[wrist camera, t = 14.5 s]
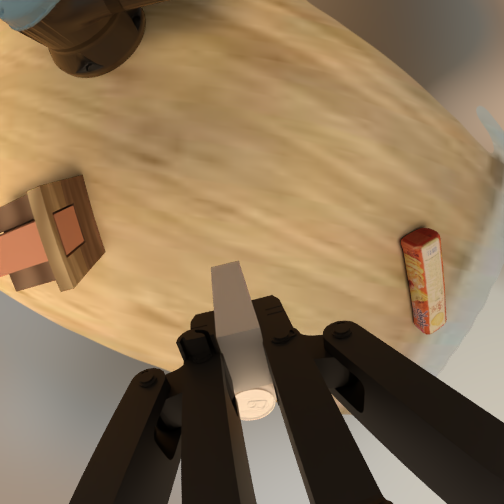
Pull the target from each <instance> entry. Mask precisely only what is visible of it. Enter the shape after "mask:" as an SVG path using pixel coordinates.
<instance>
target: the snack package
mask: <svg viewBox="0 0 504 504" xmlns="http://www.w3.org/2000/svg"><path fill="white" fill-rule="evenodd" d="M401 245H402V248H403V252H404V257H405V263H406V269H407V275H408V282H409V288H410V293H411V299H412V307H413V316H414V324H415V326H416V327H417V328H418V329H420V330H421V331H422V332H423V333H425V334H432V333H434V332H435V331H437V330H438V329H439V328H441V327H442V326H443V325H444V324H445V323H446V306H445V284H444V274H443V261H442V252H441V240H440V235H439V234H438V232H436V231H434V230H432V229H429V228H420V229H418V230H415V231H413V232H411V233H410V234H408V235H406V236H405V237H404V238H402V240H401Z"/></svg>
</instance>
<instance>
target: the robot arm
mask: <svg viewBox="0 0 504 504" xmlns="http://www.w3.org/2000/svg"><path fill="white" fill-rule="evenodd" d="M164 1H169V0H0V19H2V20H3V21H4V22H6V23H7V24H9V26H10V27H11V28H12V29H14V30H16V31H18V32H20V33H22V34H24V35H26V36H28V37H30V38H32V39H33V40H35V41H37V42H39V43H41V44H43V45H45V46H46V47H48V48H49V51H50V54H51V56H52V58H53V60H54V62H55V64H56V65H57V66H58V67H59V68H60V69H61V70H63V71H65V72H66V73H68V74H70V75H73V76H76V77H81V78H89V77H96V76H100V75H103V74H105V73H108V72H110V71H112V70H113V69H115V68H117V67H118V66H120V65H121V64H122V63H123V62H125V61H126V60H127V59H128V58H129V57H130V56H131V55H132V54H133V52H134V51H135V50H136V48H137V47H138V45H139V43H140V42H141V39H142V37H143V34H144V30H145V15H144V12H143V10H142V8H141V7H142V6H146V5H151V4H155V3H159V2H164ZM211 276H212V290H213V304H214V311H210V312H205V313H201V314H197V315H195V316H194V318H193V319H192V321H191V330H188V331H186V332H185V333H183V334H182V335H181V336H180V337H179V338H178V339H177V342H176V343H177V346H178V348H179V351H180V353H181V355H182V358H183V360H184V365H183V366H182V367H180V368H179V369H177V370H175V371H173V372H171V373H168V374H166V375H165V374H164V371H162V370H160V369H156V368H151V369H146V370H144V371H141V372H140V373H138V374H137V375H136V376H135V377H134V378H133V379H132V381H131V383H130V385H129V386H128V388H127V390H126V392H125V394H124V396H123V397H122V399H121V401H120V403H119V405H118V407H117V409H116V410H115V412H114V414H113V416H112V418H111V420H110V422H109V424H108V426H107V428H106V430H105V432H104V433H103V435H102V437H101V439H100V441H99V443H98V445H97V447H96V449H95V451H94V453H93V455H92V457H91V459H90V461H89V463H88V466H87V467H86V469H85V471H84V473H83V475H82V477H81V479H80V481H79V484H78V486H77V488H76V490H75V492H74V494H73V496H72V498H71V500H70V503H69V504H168V501H169V497H170V493H171V490H172V487H173V483H174V480H175V476H176V473H177V470H178V466H179V463H180V459H181V476H182V477H181V482H182V483H181V484H182V504H257V503H256V499H255V494H254V489H253V484H252V479H251V474H250V469H249V463H248V458H247V453H246V447H245V442H244V437H243V431H242V426H241V419H240V414H239V408H238V402H237V399H236V397H235V394H234V390H235V393H236V392H240V391H245V390H249V389H253V388H257V387H261V386H265V385H269V384H273V386H274V390H275V394H276V398H277V402H278V405H279V406H280V410H281V413H282V416H283V419H284V423H285V426H286V429H287V432H288V435H289V439H290V442H291V445H292V448H293V451H294V454H295V457H296V461H297V464H298V467H299V470H300V473H301V476H302V479H303V482H304V486H305V489H306V492H307V495H308V498H309V501H310V504H393V503H392V502H391V501H388V500H386V499H385V498H384V497H383V495H382V493H381V492H380V489H379V487H378V486H377V484H376V482H375V480H374V478H373V476H372V474H371V472H370V470H369V468H368V466H367V464H366V462H365V460H364V458H363V456H362V454H361V452H360V450H359V448H358V446H357V444H356V442H355V440H354V438H353V436H352V434H351V432H350V430H349V428H348V426H347V424H346V422H345V420H344V418H343V416H342V414H341V412H340V410H339V408H338V406H337V404H336V402H335V400H334V399H333V397H332V395H333V396H334V397H335V398H336V399H337V400H338V401H339V402H340V403H341V404H342V405H343V406H344V407H345V408H346V409H347V410H348V411H349V412H350V413H351V414H352V415H353V416H354V417H355V418H356V419H357V420H358V421H360V423H361V424H362V425H364V427H366V428H367V429H368V430H369V431H370V432H371V433H372V434H373V435H374V436H375V437H376V438H377V439H378V440H379V441H380V442H381V443H382V444H383V445H384V446H385V447H386V448H387V449H388V450H389V451H390V452H391V453H392V454H394V456H396V457H397V458H398V459H399V460H400V461H401V462H402V463H403V464H404V465H405V466H406V467H407V468H408V469H409V470H410V471H412V472H413V473H414V474H415V475H416V476H417V477H418V478H419V479H420V480H421V481H422V482H424V483H425V484H426V485H427V486H428V487H429V488H430V489H431V490H432V491H434V492H435V493H436V494H437V495H438V496H439V497H440V498H441V499H442V500H444V501H445V502H446V503H447V504H504V423H503V422H502V421H500V420H499V419H497V418H496V417H494V416H493V415H491V414H490V413H488V412H487V411H485V410H484V409H482V408H481V407H479V406H478V405H476V404H475V403H473V402H472V401H471V400H469V399H468V398H466V397H465V396H463V395H461V394H460V393H459V392H457V391H456V390H454V389H453V388H451V387H450V386H448V385H446V384H445V383H444V382H442V381H441V380H439V379H438V378H436V377H435V376H433V375H432V374H430V373H429V372H427V371H426V370H425V369H423V368H422V367H420V366H419V365H417V364H416V363H414V362H413V361H411V360H410V359H408V358H407V357H405V356H404V355H402V354H401V353H399V352H398V351H396V350H395V349H393V348H392V347H390V346H389V345H387V344H386V343H384V342H383V341H381V340H380V339H379V338H377V337H376V336H374V335H373V334H371V333H370V332H368V331H367V330H365V329H364V328H362V327H361V326H359V325H358V324H356V323H354V322H351V321H337V322H334V323H331V324H330V325H328V326H327V327H326V328H325V329H324V331H323V335H316V336H308V335H303V334H300V332H299V331H298V330H297V329H295V328H293V326H292V324H291V322H290V320H289V318H288V316H287V314H286V312H285V310H284V308H283V306H282V304H281V302H280V300H279V299H278V298H276V297H274V296H273V295H270V296H266V297H263V298H259V299H255V300H251V298H250V295H249V292H248V289H247V285H246V282H245V279H244V276H243V273H242V270H241V267H240V263H239V261H235V262H231V263H227V264H223V265H219V266H215V267H211ZM331 394H332V395H331Z"/></svg>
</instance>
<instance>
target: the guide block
mask: <svg viewBox="0 0 504 504" xmlns="http://www.w3.org/2000/svg"><path fill="white" fill-rule="evenodd" d="M70 206H74V210H75V213H76V217H77V220H78V223H79V226H80V230H81V233H82V236H83V239H84V241H83V242H82V243H81V244H80V245H78V246H77V247H76V248H75V249H74V250H72V251H71V252H70V253H69V254H68V255H66V254H65V251H64V248H63V245H62V242H61V239H60V236H59V233H58V230H57V227H56V224H55V221H54V217H53V214H52V213H54V212H57V211H59V210H62V209H65V208H68V207H70ZM34 220H35V223H36V226H37V229H38V232H39V235H40V238H41V241H42V244H43V247H44V250H45V253H46V256H47V258H48V261H47V262H44V263H40V264H37V265H34V266H31V267H28V268H25V269H22V270H19V271H16V272H13V273H10V274H9V275H10V277H11V280H12V282H13V285H14V287H15V289H16V292H17V291H20V290H23V289H27V288H30V287H34V286H37V285H41V284H44V283H48V282H51V281H55V280H56V282H57V284H58V286H59V289H60V291H61V292H63V291H66V290H70V289H74V288H75V287H76V285H77V284H78V283H79V282H80V281H81V279H82V278H83V277H84V276H85V275H86V274H87V272H88V271H89V270H90V269H91V268H92V267H93V266H94V264H95V263H96V262H97V261H98V260H99V259H100V258H101V256H102V255H103V254H104V253H105V249H104V246H103V243H102V240H101V237H100V234H99V231H98V228H97V225H96V221H95V218H94V215H93V211H92V208H91V205H90V201H89V197H88V194H87V190H86V186H85V182H84V179H83V175H80V176H76V177H72V178H68V179H64V180H60V181H56V182H52V183H48V184H45V185H41V186H38V187H36V188H34V189H31V190H29V191H27V195H25V196H23V197H21V198H18V199H16V200H14V201H12V202H10V203H8V204H6V205H4V206H2V207H0V233H1V232H3V231H4V233H5V232H7V231H10V230H12V229H14V228H17V227H19V226H21V225H24V224H26V223H29V222H31V221H34Z"/></svg>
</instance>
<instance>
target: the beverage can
mask: <svg viewBox="0 0 504 504" xmlns="http://www.w3.org/2000/svg"><path fill="white" fill-rule="evenodd" d="M234 394H235V397H236V399H237V402H238V408H239V414H240V419H241V420H256V419H260V418H262V417H264V416H266V415H268V414H269V413H270V412H271V411H272V410H273V408H274V406H275V401H276V394H275V390H274V386H273V384H269V385H265V386H261V387H257V388H253V389H249V390H245V391H240V392H236V393H235V390H234Z"/></svg>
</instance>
